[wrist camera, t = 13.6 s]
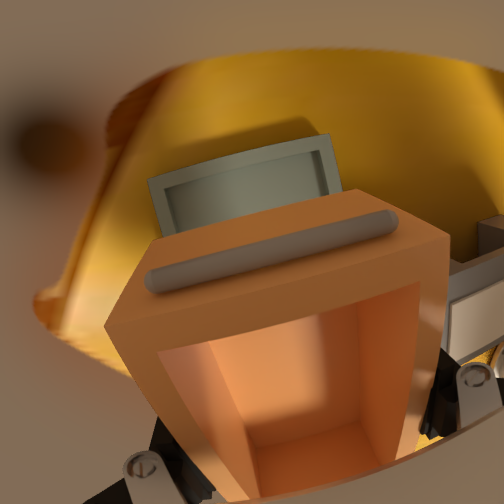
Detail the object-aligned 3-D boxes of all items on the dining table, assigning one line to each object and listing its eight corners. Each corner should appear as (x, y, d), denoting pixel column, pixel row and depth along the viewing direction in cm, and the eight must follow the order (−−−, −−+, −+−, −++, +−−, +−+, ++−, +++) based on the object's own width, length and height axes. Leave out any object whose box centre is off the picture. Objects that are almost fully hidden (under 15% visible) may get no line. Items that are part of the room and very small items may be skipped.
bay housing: (382, 334, 26) (425, 385, 18) (374, 253, 24) (428, 286, 16) (500, 284, 26) (549, 311, 18) (500, 214, 24) (558, 229, 16)
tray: (358, 342, 26) (366, 353, 24) (219, 378, 27) (218, 391, 25) (321, 136, 22) (329, 133, 20) (154, 178, 22) (146, 179, 20)
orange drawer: (368, 412, 14) (401, 484, 10) (243, 446, 14) (251, 525, 10) (354, 172, 10) (449, 208, 5) (147, 225, 10) (91, 301, 5)
